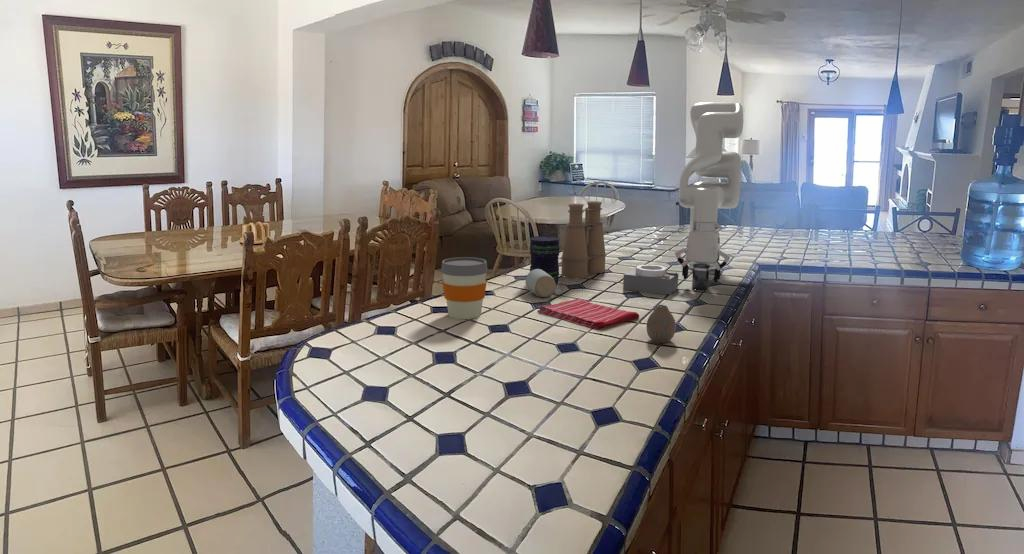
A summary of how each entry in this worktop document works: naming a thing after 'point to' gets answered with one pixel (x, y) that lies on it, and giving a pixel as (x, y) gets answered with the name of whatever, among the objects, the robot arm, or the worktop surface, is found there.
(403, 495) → the worktop surface
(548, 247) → the storage jar
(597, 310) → the dish towel
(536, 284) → the ceramic mug
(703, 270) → the lens
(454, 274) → the reusable coffee cup
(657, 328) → the vase
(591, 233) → the binoculars
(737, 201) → the robot arm
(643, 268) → the camera body
